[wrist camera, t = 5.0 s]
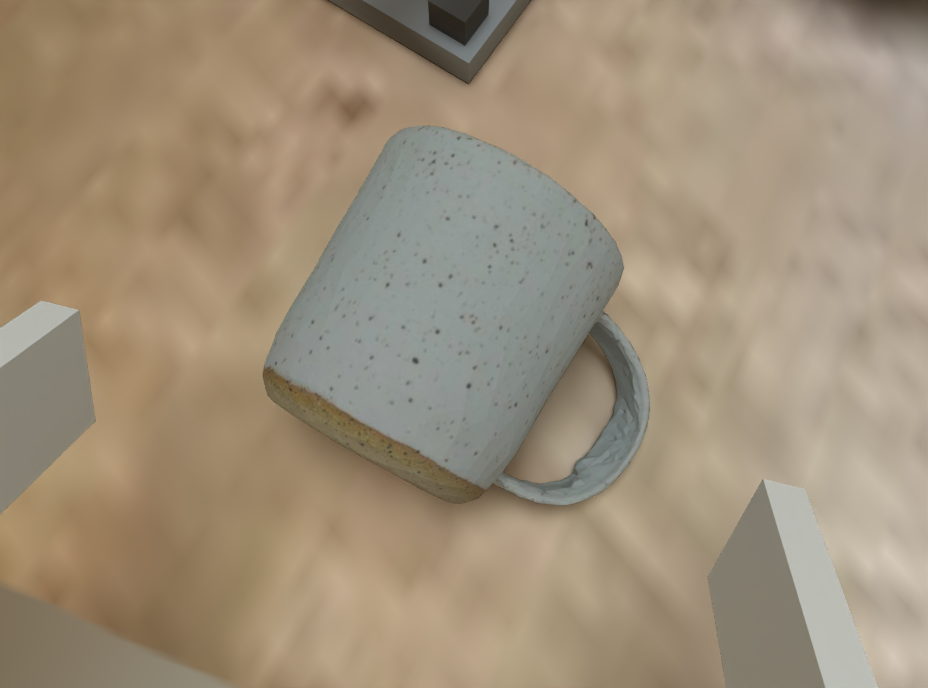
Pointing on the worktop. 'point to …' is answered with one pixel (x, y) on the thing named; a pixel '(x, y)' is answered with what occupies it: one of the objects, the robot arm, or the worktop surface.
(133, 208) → the worktop surface
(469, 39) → the shelf
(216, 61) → the worktop surface
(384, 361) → the ceramic mug
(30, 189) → the worktop surface
